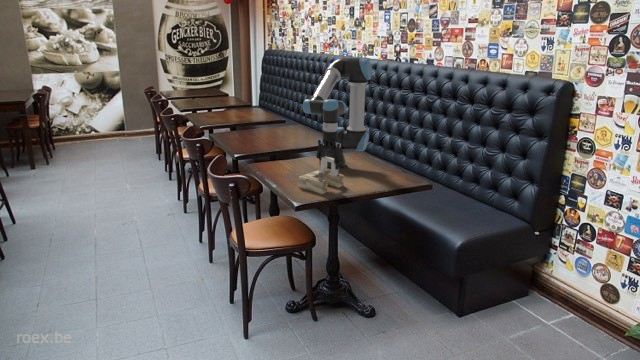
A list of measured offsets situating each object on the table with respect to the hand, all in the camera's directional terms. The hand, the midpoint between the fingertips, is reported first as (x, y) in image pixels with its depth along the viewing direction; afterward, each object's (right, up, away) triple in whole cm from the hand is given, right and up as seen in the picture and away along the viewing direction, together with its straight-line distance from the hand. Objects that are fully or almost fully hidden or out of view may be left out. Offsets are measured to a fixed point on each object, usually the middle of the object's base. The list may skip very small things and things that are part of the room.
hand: (329, 173), depth 248 cm
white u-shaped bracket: (0, 0, 0) cm, 0 cm away
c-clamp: (-4, -7, +5) cm, 10 cm away
